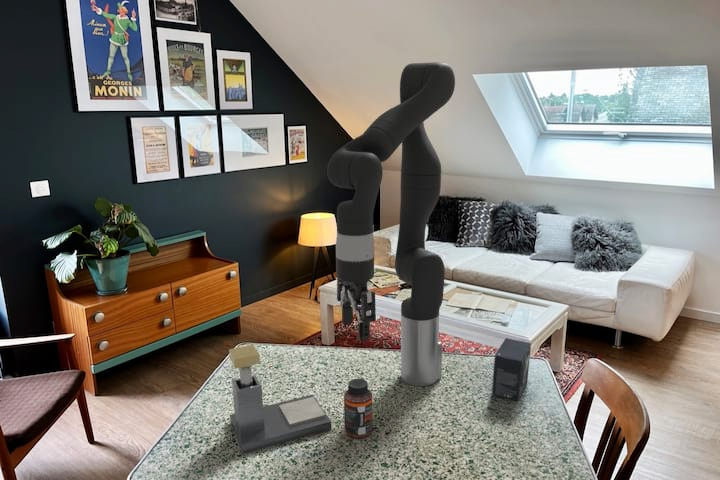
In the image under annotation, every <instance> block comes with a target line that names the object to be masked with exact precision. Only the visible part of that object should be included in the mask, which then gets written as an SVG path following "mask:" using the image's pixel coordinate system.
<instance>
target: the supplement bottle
mask: <svg viewBox="0 0 720 480" xmlns="http://www.w3.org/2000/svg"><path fill="white" fill-rule="evenodd" d="M368 384H369V383H368V381H367V380H365V379H364V378H353V379H351V380H349V381H348V384H347V386H348V387H347V389H346V390H345V392H344V394H343V395H344V396H343V410H344V411H343V412H344V413H343V417H344V432H345V434H347V436H349V437H350V438H355V439H362V438H366V437H369V435H371V434H372V432H373V426H374V425H373V422H374V421H373V417H374V416H373V393H372V391H371V390H370V389H369V385H368Z"/></svg>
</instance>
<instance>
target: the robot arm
mask: <svg viewBox="0 0 720 480" xmlns="http://www.w3.org/2000/svg"><path fill="white" fill-rule="evenodd" d="M455 85H456V77H455V73H454V70H453V68H452V66H450V65H449V64H447V63H445V62H439V61H438V62H437V61H436V62H435V61H431V62H412V63H409V64H406V66H405V67H404V68H403V70H402V72H401V75H400V80H399V101H400V102H399V104H397V105H395V106H393V107H391V108H389V109H388V110H386V111H385V112H383V113H382V114H380V115H379V116H377V118H376V119H375V120H373V122H371V124H370V125H369V126H368V127H367V128H366V130H365V131H364V132H363V133H362V134H360V135H359V136H357V137H355V138H353V139H352V140H351V141H349V142H347V143H346V144H344V145H342V146H341V147H339V149H337V150H336V151H335V152H334V153H333V154H332V156H331V158H330V159H329V161H328V164H327V168H326V173H327V178H328V180H329V182H330V183H331V184H332V185H333V186H335V187H337V188H342V189H350V190H355V192H354V196H353V198H352V199H351V200H345V201H342V202H340V203H339V204H338V206H337V207H336V208H337V209H336V238H335V239H336V240H335V273H336V274H335V276H336V279H337V280H336V300H337V302H339V306H340V308H341V323H342V324H343V325H345V326H346V325H352V324H353V323H354V313H355V314H356V317H357V322H358V323H357V339H358V340H360V341H366V340H367V341H368V340H369V339H370V338H371V330H370V329H371V324H370V323H373V322H376V320H377V319H376V318H377V317H376V316H377V314H376V313H377V312H376V293H375V291H374V290H373V291H369V288H368V283H369V281H370V280H372V279H374V277H375V239H374V209H375V206H376V201H377V200H378V199H377V197H378V195H379V190H380V187H381V183H382V181H383V180H382V178H383V173H384V172H383V166H382V163H384V162H386V161H387V160H388V159H390V157H392V155H393V154H394V153H395V151H396V150H398V147H400V145H401V163H400V164H401V165H400V203H399V204H400V206H399V207H400V208H399V223H398V224H399V226H398V228H399V229H398V234H397V244H396V252H395V259H394V268H395V270H394V271H395V273H396V276H397V278H399V279H400V280H401V281H402V282H403V283H405V284H407V285H410V286H411V289H410V291H411V293H410V297H407V298H404V300H402V302H401V305H400V365H401V366H400V377H401V380H402V381H403V382H404V383H406V384H408V385H411V386H415V387H426V386H427V387H428V386H431V385H433V384H435V383H436V382H437V381H439V380H441V379H442V374H443V371H442V366H443V363H442V362H443V344H442V342H441V341H440V337H439V336H440V308H441V306H442V303H443V301H444V300H443V299H444V293H445V291H444V289H445V288H444V287H445V272H446V269H445V264H444V260H443V259H442V257H441V256H440V255H439V254H437V253H435V252H432V251H430V250H428V249H426V243H425V242H426V241H425V240H426V239H425V238H426V227H427V223H428V221H429V219H430V216H431V215H432V213H433V211H434V209H435V208H436V206H437V203H438V200H439V198H440V194H441V186H442V185H441V184H442V183H441V182H442V164H441V161H440V159H439V155H438V154H437V151H436V150H435V148H434V146H433V144H432V142H431V140H430V138H429V136H428V135H427V131H426V128H425V124H424V122H425V121H426V120H428V119H429V118H430V117H431V116H433V115H434V113H436V112H438V111H439V110H440V109H442V107H445V105H446V104H447V103H448V102H449V101H450V100H451V98H452V96H453V95H454V91H455V87H456V86H455Z"/></svg>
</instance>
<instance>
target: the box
mask: <svg viewBox="0 0 720 480" xmlns="http://www.w3.org/2000/svg"><path fill="white" fill-rule="evenodd" d="M531 347H532V343H531V342H526V341H521V340H517V339H512V338H507V337H505V339H504V341H503V342H502V343H501V345H500V346H499V348H498V349H497V351H496V352H495V354H494V359H493V361H494V362H493V373H492V384H491V395H492V396H496V397H500V398H504V399H508V400H513V401H516V402H517V401H518V402H519V400H520V398H521V396H522V394H523V391H524V389H525V387H526V385H527V383H528V380H529V379H528V378H529V368H530V360H531V359H530V358H531V349H532V348H531Z"/></svg>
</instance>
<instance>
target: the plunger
mask: <svg viewBox="0 0 720 480" xmlns="http://www.w3.org/2000/svg"><path fill="white" fill-rule="evenodd" d="M228 353H229V360H230V361H231V363H232V366H233V368H234V369H235V370H237V369H239V379H240V383H241V389H243V388H248V387H252V386H253V383H252V376H253V374H252V372H253V371H252V366H255V365H258V364H261V363H260V362H261V359H260V353H259V351H258V350H257V349H256V346H255V344H250V345H245V346H240V347H235V348H231V349H228Z"/></svg>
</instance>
